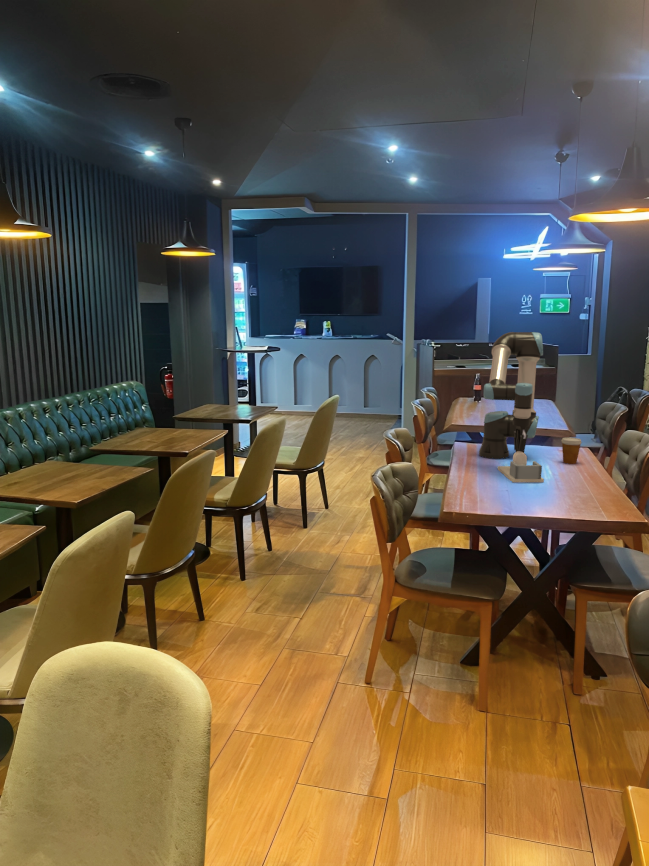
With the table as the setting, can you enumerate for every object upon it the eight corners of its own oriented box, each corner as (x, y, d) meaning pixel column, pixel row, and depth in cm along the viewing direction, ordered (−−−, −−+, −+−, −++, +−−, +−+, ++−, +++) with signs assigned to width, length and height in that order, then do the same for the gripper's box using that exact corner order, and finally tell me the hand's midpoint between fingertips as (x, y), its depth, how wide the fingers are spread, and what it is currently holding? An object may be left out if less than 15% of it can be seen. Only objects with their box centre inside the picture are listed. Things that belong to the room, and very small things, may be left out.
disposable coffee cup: (578, 460, 315) (580, 437, 313) (581, 465, 306) (583, 441, 304) (558, 459, 318) (560, 436, 315) (560, 464, 309) (562, 440, 306)
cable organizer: (521, 470, 290) (522, 449, 288) (528, 476, 281) (529, 454, 278) (510, 470, 290) (511, 449, 288) (516, 476, 281) (518, 454, 278)
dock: (497, 469, 299) (498, 454, 297) (526, 469, 299) (527, 454, 297) (512, 482, 276) (513, 465, 275) (543, 482, 276) (544, 465, 275)
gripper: (509, 414, 291) (505, 463, 296) (517, 419, 279) (514, 470, 284) (525, 414, 291) (521, 463, 296) (534, 419, 279) (530, 470, 284)
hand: (517, 466), depth 290 cm, fingers closed
